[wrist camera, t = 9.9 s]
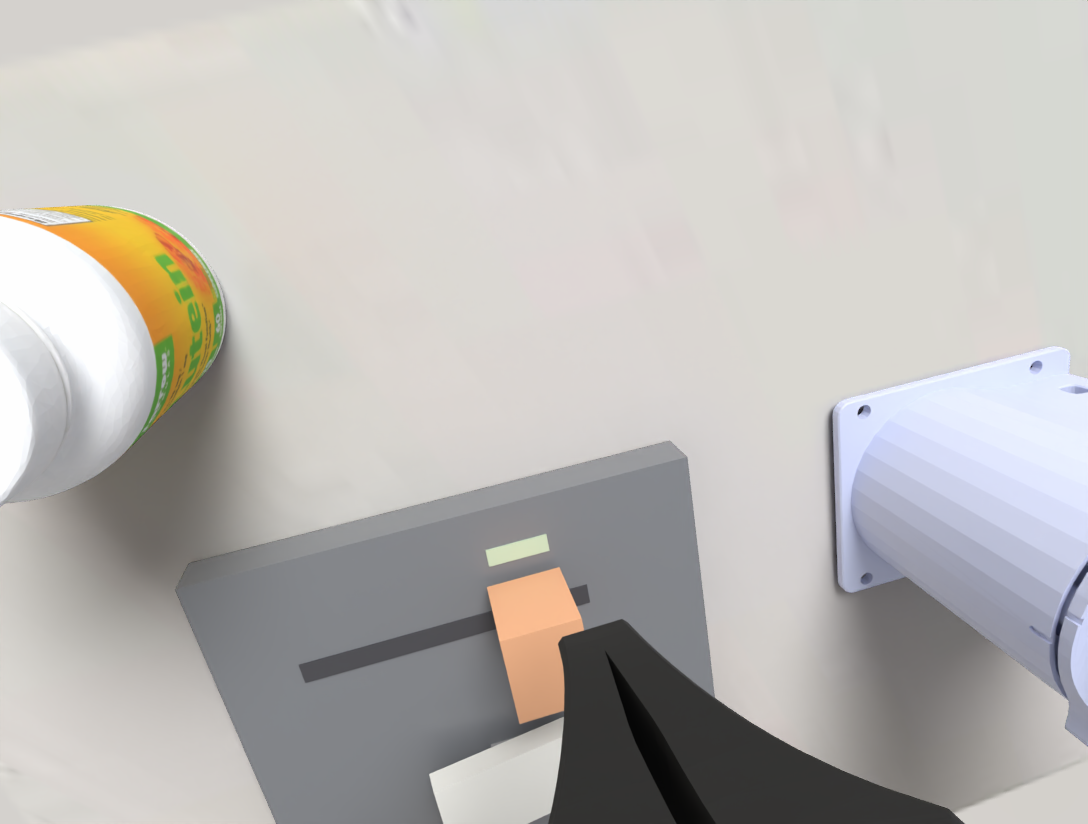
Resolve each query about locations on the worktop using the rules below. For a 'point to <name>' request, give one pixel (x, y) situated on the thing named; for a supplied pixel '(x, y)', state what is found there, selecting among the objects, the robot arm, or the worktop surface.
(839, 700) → the worktop surface
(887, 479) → the robot arm
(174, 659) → the worktop surface
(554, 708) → the peach slider
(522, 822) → the off-white rocker
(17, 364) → the supplement bottle
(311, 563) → the switch panel
